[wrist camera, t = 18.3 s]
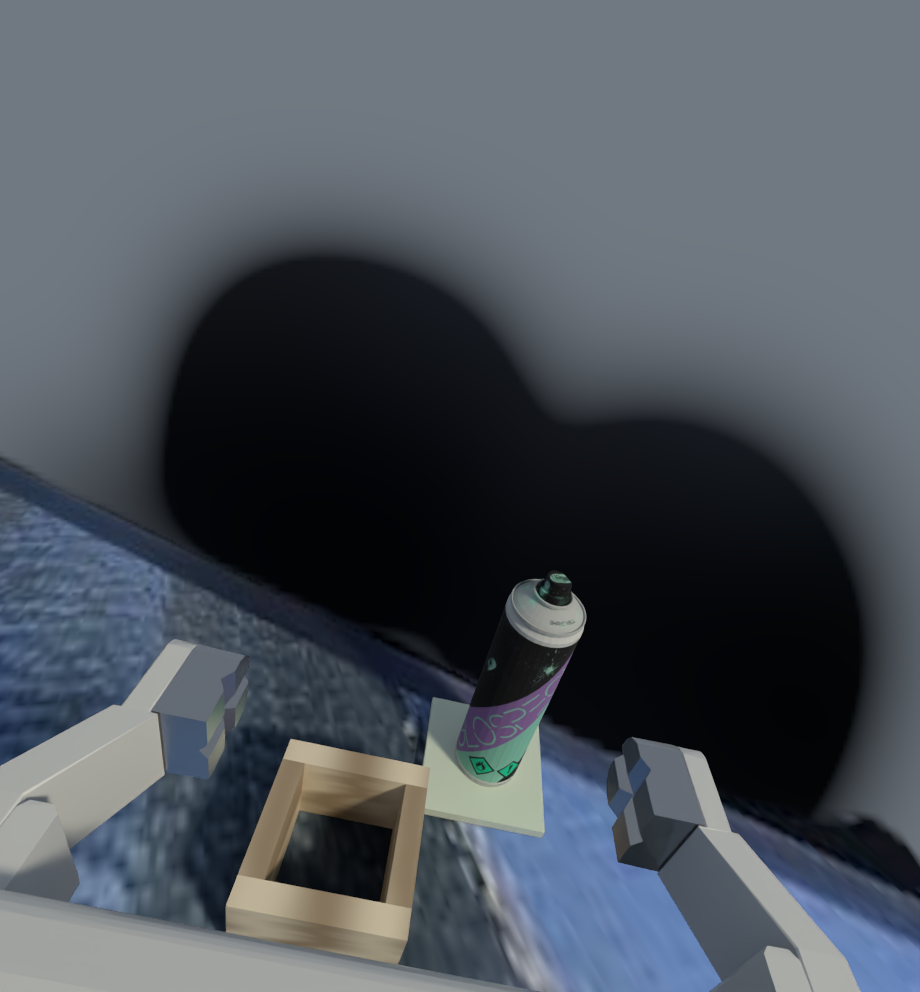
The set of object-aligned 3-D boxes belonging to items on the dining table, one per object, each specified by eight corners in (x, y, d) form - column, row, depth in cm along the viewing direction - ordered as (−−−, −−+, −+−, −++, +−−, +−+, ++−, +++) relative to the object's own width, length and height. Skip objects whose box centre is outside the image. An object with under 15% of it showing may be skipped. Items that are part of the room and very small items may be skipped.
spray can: (441, 757, 44) (504, 575, 34) (477, 715, 48) (542, 541, 38) (496, 802, 42) (581, 621, 32) (528, 753, 46) (612, 581, 36)
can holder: (226, 950, 32) (225, 905, 29) (286, 786, 40) (290, 738, 37) (390, 980, 32) (407, 940, 29) (415, 812, 41) (430, 767, 38)
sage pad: (415, 812, 41) (417, 806, 40) (431, 702, 49) (433, 697, 49) (541, 837, 41) (544, 832, 41) (535, 724, 50) (538, 719, 49)
